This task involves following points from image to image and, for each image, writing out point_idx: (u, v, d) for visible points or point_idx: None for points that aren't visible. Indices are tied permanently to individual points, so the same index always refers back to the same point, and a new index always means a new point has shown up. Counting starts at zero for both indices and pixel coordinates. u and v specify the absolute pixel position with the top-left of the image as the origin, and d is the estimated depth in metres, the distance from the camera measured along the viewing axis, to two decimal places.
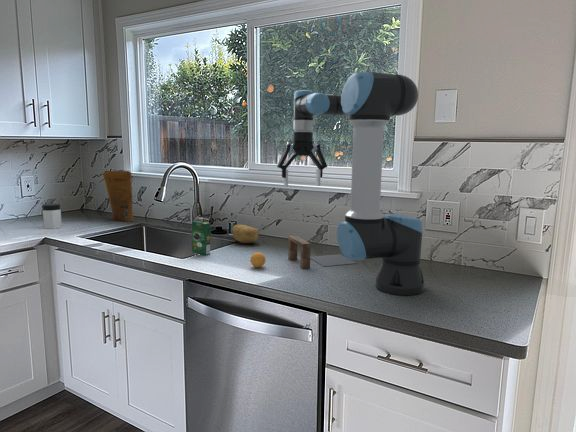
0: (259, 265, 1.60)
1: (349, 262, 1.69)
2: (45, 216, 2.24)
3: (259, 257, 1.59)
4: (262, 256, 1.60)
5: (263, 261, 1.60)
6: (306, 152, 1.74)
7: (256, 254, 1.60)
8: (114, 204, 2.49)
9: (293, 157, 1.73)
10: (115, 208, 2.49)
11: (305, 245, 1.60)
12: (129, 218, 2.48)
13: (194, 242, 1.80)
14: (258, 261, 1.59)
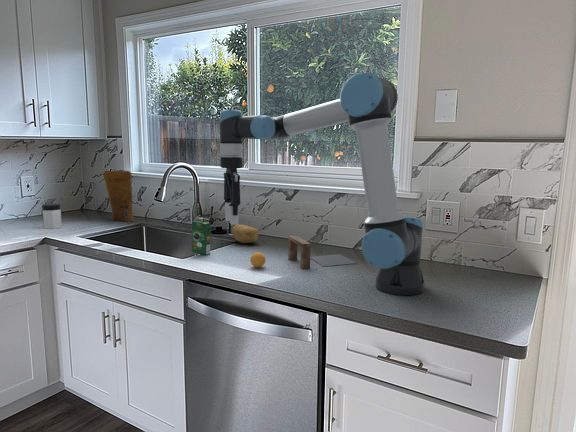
0: (259, 265, 1.60)
1: (349, 262, 1.69)
2: (45, 216, 2.24)
3: (259, 257, 1.59)
4: (262, 256, 1.60)
5: (263, 261, 1.60)
6: None
7: (256, 254, 1.60)
8: (114, 204, 2.49)
9: (226, 187, 1.56)
10: (115, 208, 2.49)
11: (305, 245, 1.60)
12: (129, 218, 2.48)
13: (194, 242, 1.80)
14: (258, 261, 1.59)
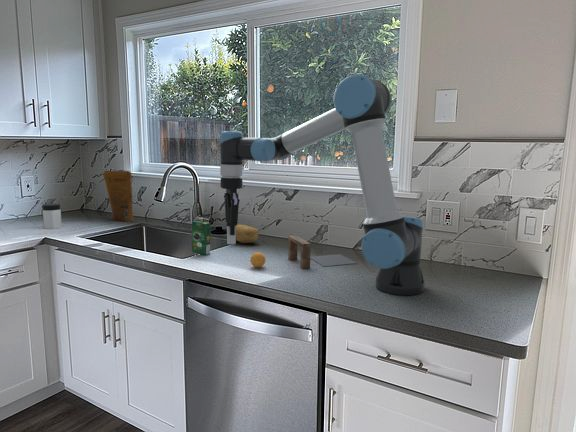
0: (259, 265, 1.60)
1: (349, 262, 1.69)
2: (45, 216, 2.24)
3: (259, 257, 1.59)
4: (262, 256, 1.60)
5: (263, 261, 1.60)
6: None
7: (256, 254, 1.60)
8: (114, 204, 2.49)
9: (227, 208, 1.56)
10: (115, 208, 2.49)
11: (305, 245, 1.60)
12: (129, 218, 2.48)
13: (194, 242, 1.80)
14: (258, 261, 1.59)
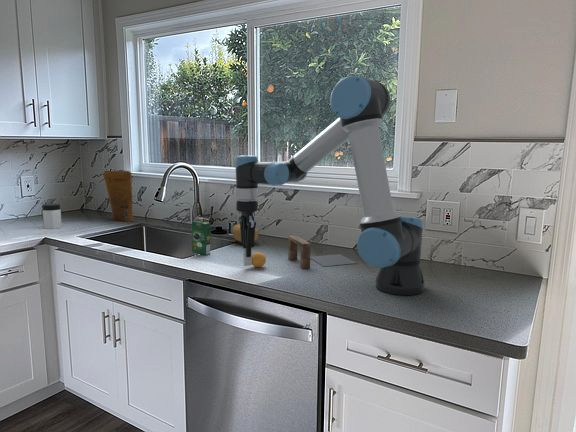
0: (259, 265, 1.60)
1: (349, 262, 1.69)
2: (45, 216, 2.24)
3: (259, 257, 1.59)
4: (262, 256, 1.60)
5: (263, 261, 1.60)
6: None
7: (257, 254, 1.60)
8: (114, 204, 2.49)
9: (243, 230, 1.59)
10: (115, 208, 2.49)
11: (305, 245, 1.60)
12: (129, 218, 2.48)
13: (194, 242, 1.80)
14: (258, 261, 1.59)
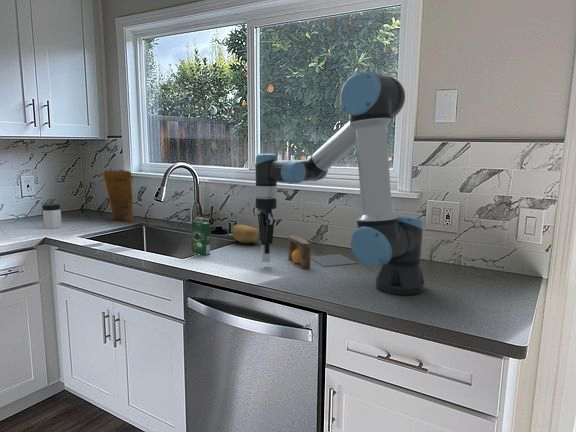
0: None
1: (349, 262, 1.69)
2: (45, 216, 2.24)
3: (297, 256, 1.65)
4: (298, 252, 1.65)
5: None
6: None
7: (293, 255, 1.66)
8: (114, 204, 2.49)
9: (261, 227, 1.62)
10: (115, 208, 2.49)
11: (305, 245, 1.60)
12: (129, 218, 2.48)
13: (194, 242, 1.80)
14: None
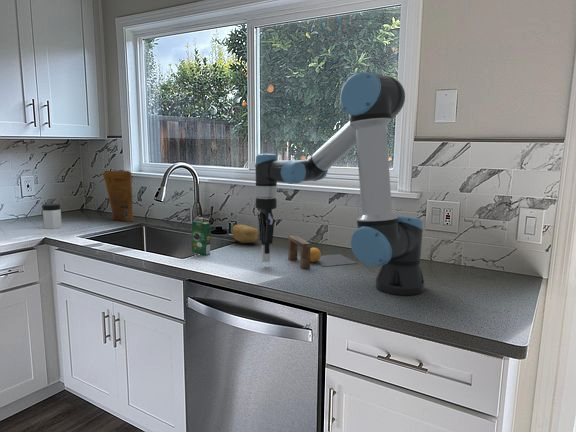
0: (312, 257, 1.67)
1: (349, 262, 1.69)
2: (45, 216, 2.24)
3: (319, 254, 1.68)
4: (320, 256, 1.69)
5: (317, 259, 1.68)
6: None
7: (319, 251, 1.69)
8: (114, 204, 2.49)
9: (261, 227, 1.62)
10: (115, 208, 2.49)
11: (305, 245, 1.60)
12: (129, 218, 2.48)
13: (194, 242, 1.80)
14: (316, 254, 1.67)
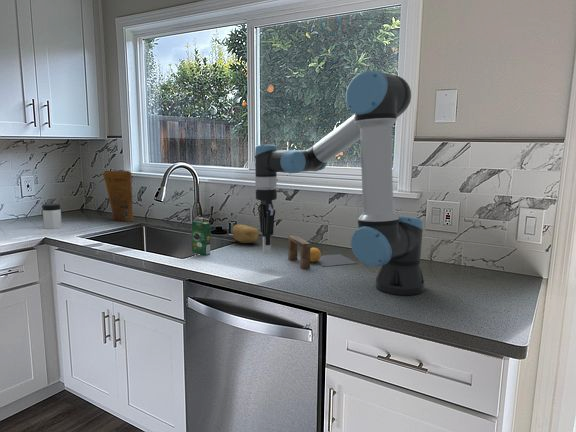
0: (312, 257, 1.67)
1: (349, 262, 1.69)
2: (45, 216, 2.24)
3: (319, 254, 1.68)
4: (320, 256, 1.69)
5: (317, 259, 1.68)
6: None
7: (319, 251, 1.69)
8: (114, 204, 2.49)
9: (262, 218, 1.61)
10: (115, 208, 2.49)
11: (305, 245, 1.60)
12: (129, 218, 2.48)
13: (194, 242, 1.80)
14: (316, 254, 1.67)
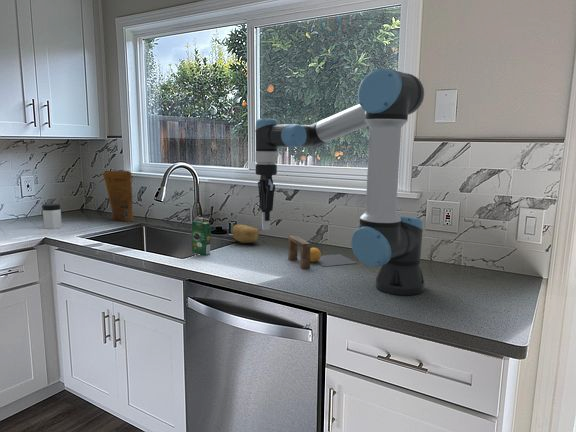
0: (312, 257, 1.67)
1: (349, 262, 1.69)
2: (45, 216, 2.24)
3: (319, 254, 1.68)
4: (320, 256, 1.69)
5: (317, 259, 1.68)
6: None
7: (319, 251, 1.69)
8: (114, 204, 2.49)
9: (261, 194, 1.60)
10: (115, 208, 2.49)
11: (305, 245, 1.60)
12: (129, 218, 2.48)
13: (194, 242, 1.80)
14: (316, 254, 1.67)
